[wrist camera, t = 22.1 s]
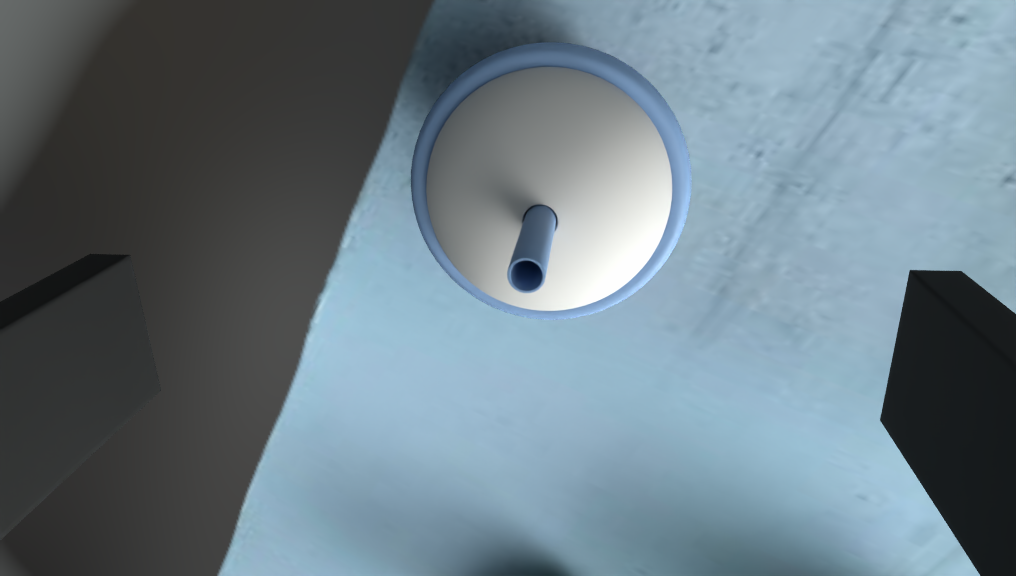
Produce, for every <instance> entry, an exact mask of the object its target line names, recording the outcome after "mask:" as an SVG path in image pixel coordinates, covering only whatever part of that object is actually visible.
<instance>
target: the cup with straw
mask: <svg viewBox="0 0 1016 576" xmlns="http://www.w3.org/2000/svg"><path fill="white" fill-rule="evenodd" d="M691 183H692V181H691V165H690V158H689V153H688V149H687V145H686V141H685V138H684V136H683V133H682V130H681V127H680V125H679V123H678V121H677V119H676V117H675V115H674V113H673V112H672V110H671V108H670V107H669V105H668V104H667V102H666V101H665V99H664V98H663V97H662V96H661V94H660V93H659V92H658V91H657V89H656V88H655V87H654V86H653V85H652V84H651V83H650V82H649V81H648V80H647V79H646V78H644V77H643V76H642V75H641V74H640V73H638V72H637V71H636V70H635V69H633V68H632V67H630V66H629V65H627V64H626V63H624V62H622V61H620V60H619V59H617V58H615V57H613V56H611V55H609V54H606V53H604V52H601V51H599V50H596V49H592V48H589V47H585V46H581V45H576V44H570V43H559V42H542V43H532V44H525V45H521V46H517V47H512V48H509V49H506V50H503V51H501V52H498V53H495V54H493V55H491V56H489V57H487V58H485V59H483V60H481V61H480V62H478V63H476V64H475V65H473V66H472V67H470V68H469V69H468V70H466V71H465V72H464V73H462V74H461V75H460V76H459V77H458V78H457V79H456V80H454V81H453V82H452V83H451V84H450V85H449V86H448V87H447V89H446V90H445V91H444V92H443V93H442V94H441V95H440V97H439V98H438V100H437V101H436V102H435V104H434V105H433V107H432V108H431V110H430V112H429V114H428V115H427V117H426V119H425V121H424V124H423V126H422V128H421V130H420V133H419V136H418V139H417V142H416V146H415V150H414V155H413V160H412V169H411V191H412V201H413V206H414V212H415V215H416V219H417V222H418V226H419V228H420V231H421V233H422V236H423V238H424V240H425V242H426V244H427V246H428V248H429V250H430V251H431V253H432V254H433V256H434V258H435V259H436V260H437V262H438V263H439V264H440V266H441V267H442V268H443V270H444V271H445V272H446V273H447V274H448V275H449V276H450V277H451V278H452V279H453V280H454V281H455V282H456V283H457V284H458V285H459V286H461V287H462V288H463V289H464V290H466V291H467V292H468V293H470V294H471V295H472V296H474V297H476V298H477V299H479V300H481V301H482V302H484V303H486V304H488V305H490V306H492V307H494V308H497V309H499V310H502V311H504V312H507V313H511V314H514V315H517V316H522V317H527V318H534V319H546V320H558V319H570V318H576V317H581V316H585V315H589V314H593V313H596V312H599V311H601V310H604V309H607V308H609V307H611V306H613V305H615V304H617V303H619V302H621V301H623V300H624V299H626V298H628V297H629V296H631V295H632V294H633V293H635V292H636V291H638V290H639V289H640V288H641V287H642V286H644V285H645V284H646V283H647V282H648V281H649V280H650V279H651V278H652V277H653V276H654V275H655V274H656V273H657V272H658V271H659V269H660V268H661V267H662V265H663V264H664V263H665V262H666V260H667V259H668V257H669V256H670V254H671V252H672V251H673V249H674V247H675V245H676V243H677V241H678V239H679V237H680V235H681V232H682V230H683V227H684V225H685V221H686V217H687V214H688V210H689V204H690V197H691Z"/></svg>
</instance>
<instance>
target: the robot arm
mask: <svg viewBox="0 0 1016 576" xmlns="http://www.w3.org/2000/svg"><path fill="white" fill-rule="evenodd" d="M160 391H161V388H160V384H159V380H158V375H157V371H156V366H155V363H154V358H153V353H152V349H151V344H150V340H149V336H148V331H147V327H146V322H145V318H144V314H143V309H142V305H141V301H140V296H139V292H138V288H137V283H136V279H135V274H134V270H133V265H132V261H131V257H130V255H106V254H90V255H87V256H86V257H84V258H82V259H80V260H78V261H76V262H74V263H73V264H71V265H69V266H67V267H65V268H63V269H61V270H59V271H57V272H56V273H54V274H52V275H50V276H48V277H46V278H44V279H42V280H40V281H39V282H37V283H35V284H33V285H31V286H29V287H28V288H25V289H24V290H22V291H20V292H18V293H16V294H14V295H13V296H10V297H9V298H7V299H5V300H3V301H1V302H0V540H1V539H2V538H3V537H4V536H5V535H6V534H7V533H8V532H9V531H10V530H12V528H14V527H15V526H16V525H17V524H18V523H19V522H20V521H21V520H22V519H23V518H24V517H25V516H27V515H28V514H29V513H30V512H31V511H32V510H33V509H34V508H35V507H36V506H37V505H38V504H40V503H41V502H42V501H43V500H44V499H45V498H46V497H47V496H48V495H49V494H50V493H51V492H52V491H53V490H55V489H56V488H57V487H58V486H59V485H60V484H61V483H62V482H63V481H64V480H65V479H66V478H67V477H68V476H70V475H71V474H72V473H73V472H74V471H75V470H76V469H77V468H78V467H79V466H80V465H81V464H83V463H84V462H85V461H86V460H87V459H88V458H89V457H90V456H91V455H92V454H93V453H94V452H95V451H97V450H98V449H99V448H100V447H101V446H102V445H103V444H104V443H105V442H106V441H107V440H108V439H109V438H110V437H112V435H114V434H115V433H116V432H117V431H118V430H119V429H120V428H121V427H122V426H123V425H124V424H125V423H127V422H128V421H129V420H130V419H131V418H132V417H133V416H134V415H135V414H136V413H137V412H138V411H140V409H142V408H143V407H144V406H145V405H146V404H147V403H148V402H149V401H150V400H151V399H152V398H153V397H155V395H157V394H158V393H159V392H160ZM880 421H881V422H882V424H883V425H884V427H885V429H886V430H887V432H888V433H889V435H890V436H891V438H892V439H893V441H894V442H895V444H896V446H897V447H898V449H899V450H900V452H901V453H902V455H903V456H904V458H905V459H906V461H907V463H908V464H909V466H910V467H911V469H912V470H913V472H914V473H915V475H916V477H917V478H918V480H919V481H920V483H921V484H922V486H923V487H924V489H925V490H926V492H927V494H928V495H929V497H930V498H931V500H932V501H933V503H934V504H935V506H936V508H937V509H938V511H939V512H940V514H941V515H942V517H943V518H944V520H945V521H946V523H947V525H948V526H949V528H950V529H951V531H952V532H953V534H954V535H955V537H956V538H957V540H958V542H959V543H960V545H961V546H962V548H963V549H964V551H965V552H966V554H967V556H968V557H969V559H970V560H971V562H972V563H973V565H974V566H975V568H976V569H977V571H978V573H979V574H980V576H1016V314H1015V313H1014V312H1012V311H1011V310H1010V309H1009V308H1007V307H1006V306H1005V305H1004V304H1002V303H1001V302H1000V301H999V300H997V299H996V298H995V297H993V296H992V295H991V294H990V293H988V292H987V291H986V290H985V289H983V288H982V287H981V286H980V285H978V284H977V283H976V282H974V281H973V280H972V279H971V278H969V277H968V276H967V275H966V274H964V273H963V272H962V271H927V270H910V272H909V277H908V282H907V287H906V292H905V297H904V302H903V307H902V312H901V317H900V322H899V327H898V332H897V338H896V343H895V348H894V353H893V358H892V363H891V368H890V373H889V378H888V383H887V388H886V393H885V398H884V403H883V408H882V413H881V418H880Z"/></svg>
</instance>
